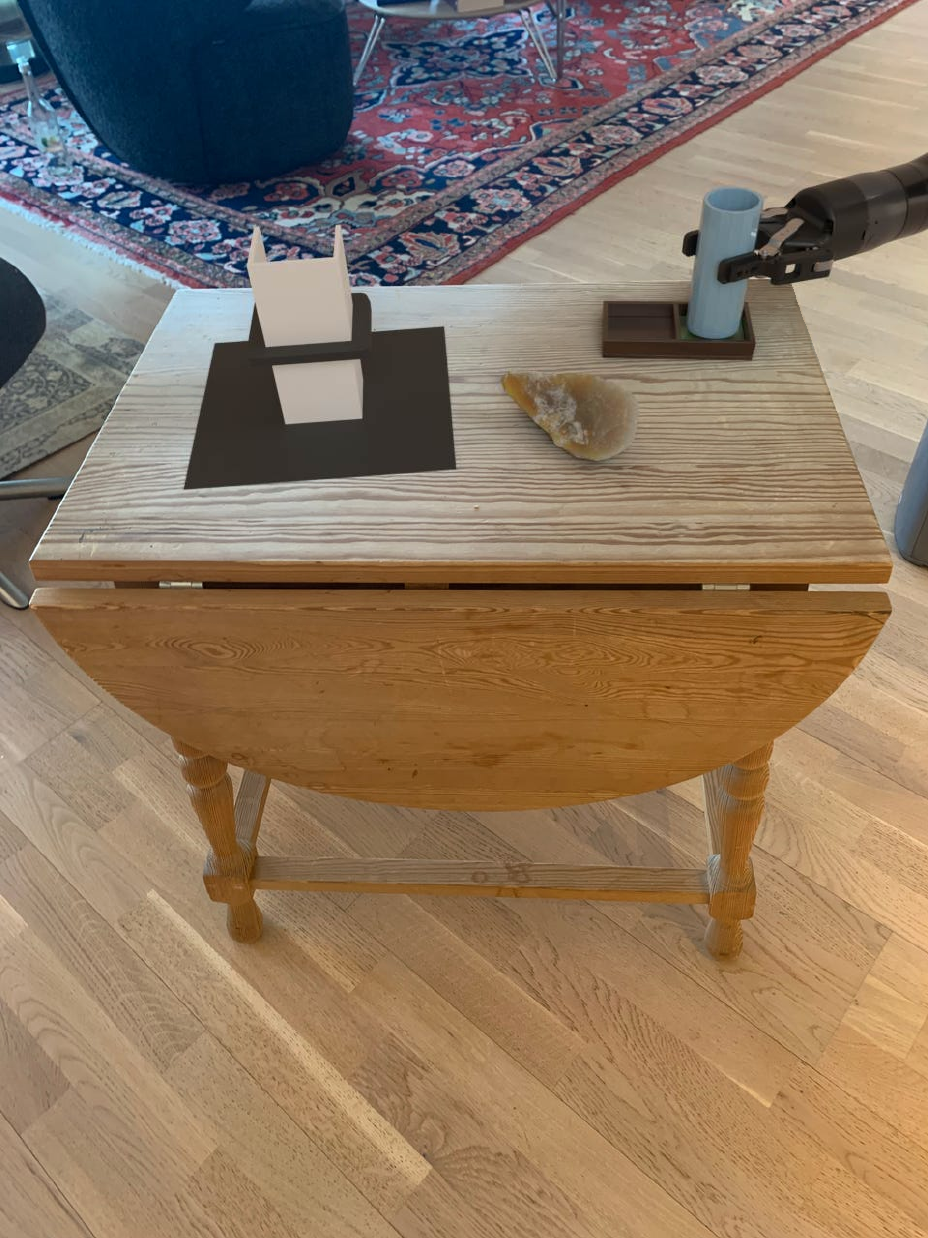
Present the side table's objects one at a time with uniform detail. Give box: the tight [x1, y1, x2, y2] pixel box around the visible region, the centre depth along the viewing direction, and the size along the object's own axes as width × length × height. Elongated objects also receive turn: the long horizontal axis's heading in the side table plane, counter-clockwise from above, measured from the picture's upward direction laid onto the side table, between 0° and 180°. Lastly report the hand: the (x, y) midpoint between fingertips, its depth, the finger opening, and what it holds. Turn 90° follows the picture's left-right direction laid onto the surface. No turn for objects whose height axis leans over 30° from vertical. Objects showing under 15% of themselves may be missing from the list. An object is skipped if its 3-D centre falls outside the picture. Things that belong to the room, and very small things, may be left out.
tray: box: [601, 300, 757, 361], centre depth 96 cm, size 8×15×2 cm, turn 84°
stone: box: [500, 369, 640, 462], centre depth 85 cm, size 7×6×15 cm
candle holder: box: [183, 224, 457, 490], centre depth 86 cm, size 25×24×16 cm
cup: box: [686, 186, 765, 339], centre depth 91 cm, size 5×5×13 cm
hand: (702, 258), depth 89 cm, fingers closed on cup, 5 cm apart
